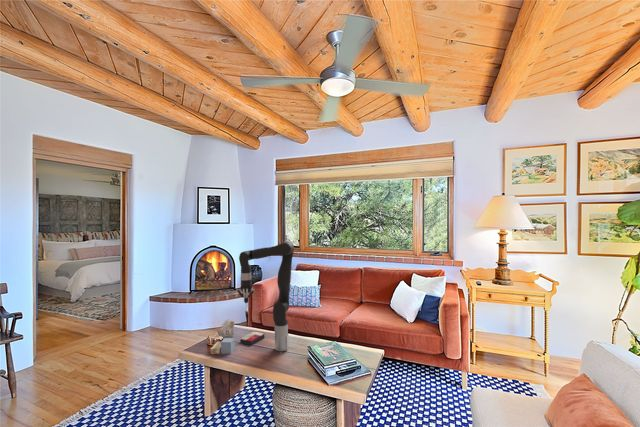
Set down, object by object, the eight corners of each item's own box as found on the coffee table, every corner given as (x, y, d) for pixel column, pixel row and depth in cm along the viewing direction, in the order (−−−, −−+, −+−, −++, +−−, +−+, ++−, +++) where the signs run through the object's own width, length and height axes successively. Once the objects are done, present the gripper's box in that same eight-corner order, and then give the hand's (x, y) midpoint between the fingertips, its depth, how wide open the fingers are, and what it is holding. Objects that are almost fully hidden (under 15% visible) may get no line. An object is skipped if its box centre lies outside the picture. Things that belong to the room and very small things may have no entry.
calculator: (239, 338, 221) (253, 330, 234) (240, 344, 221) (253, 336, 234) (251, 341, 216) (264, 333, 229) (251, 347, 216) (264, 338, 229)
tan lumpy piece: (225, 346, 215) (225, 341, 215) (219, 354, 203) (219, 348, 203) (217, 346, 215) (217, 341, 215) (210, 353, 203) (210, 348, 203)
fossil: (222, 341, 219) (226, 320, 223) (212, 339, 222) (217, 318, 227) (235, 340, 232) (239, 320, 237) (226, 338, 236) (230, 318, 241)
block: (234, 349, 210) (234, 338, 210) (231, 354, 203) (230, 342, 203) (224, 349, 210) (224, 338, 210) (220, 354, 203) (220, 342, 203)
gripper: (256, 277, 219) (256, 301, 219) (238, 277, 220) (239, 301, 220) (253, 279, 212) (253, 304, 212) (235, 279, 213) (235, 304, 212)
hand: (246, 302), depth 216 cm, fingers closed
